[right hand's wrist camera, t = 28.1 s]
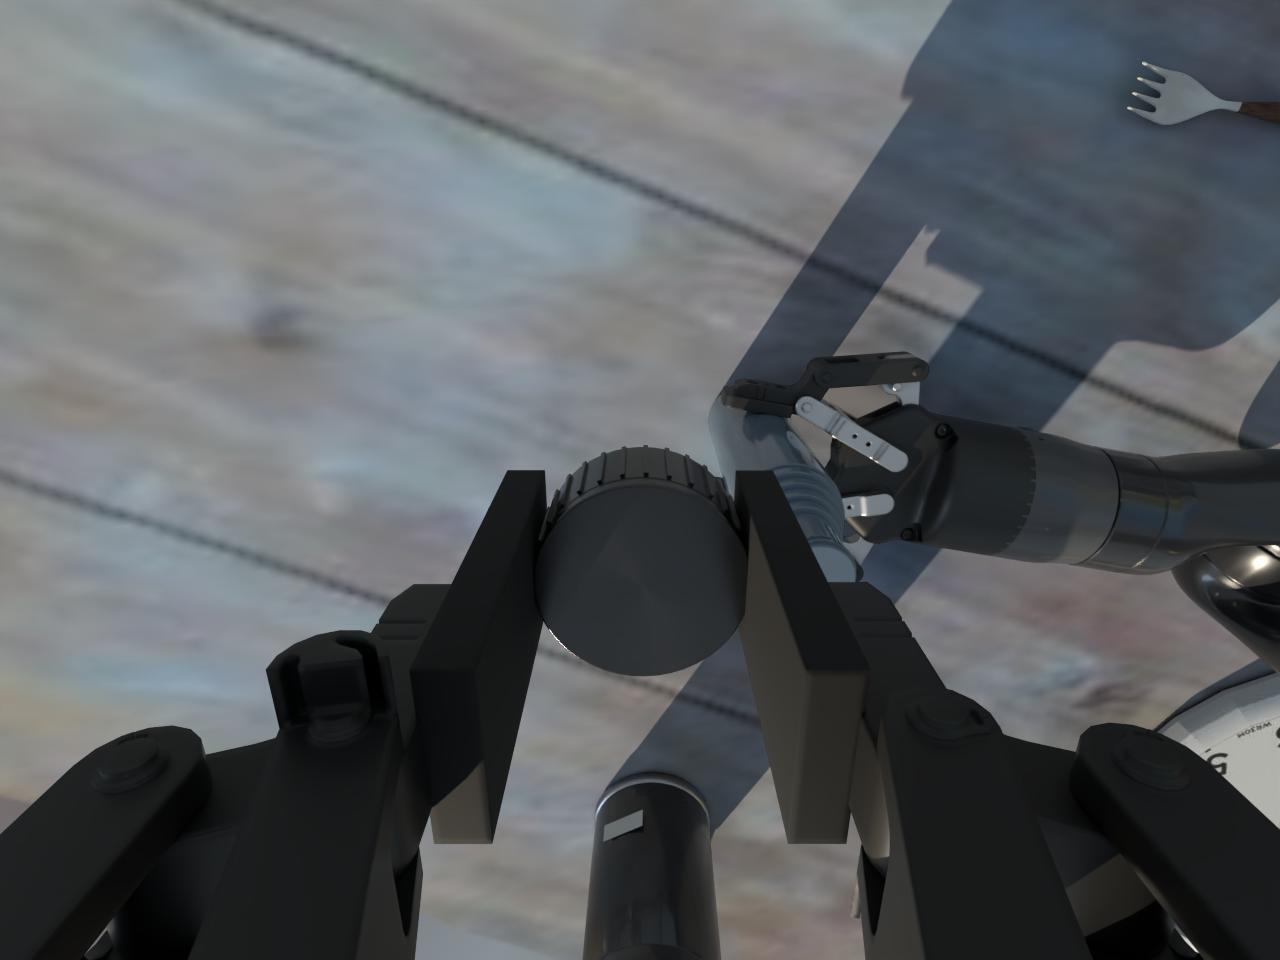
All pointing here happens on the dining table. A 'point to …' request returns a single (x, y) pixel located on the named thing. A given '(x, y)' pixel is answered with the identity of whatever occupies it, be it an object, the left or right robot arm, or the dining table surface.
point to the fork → (1194, 100)
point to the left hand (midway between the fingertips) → (714, 443)
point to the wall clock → (1238, 741)
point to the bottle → (786, 478)
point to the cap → (641, 563)
